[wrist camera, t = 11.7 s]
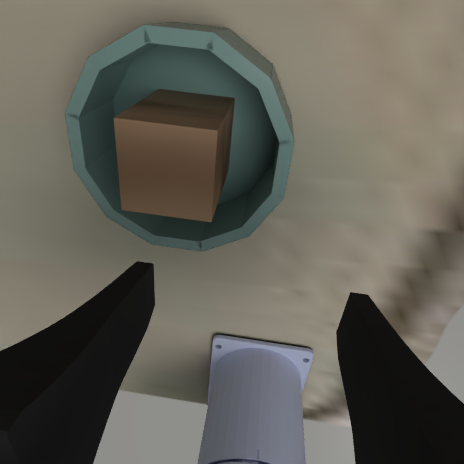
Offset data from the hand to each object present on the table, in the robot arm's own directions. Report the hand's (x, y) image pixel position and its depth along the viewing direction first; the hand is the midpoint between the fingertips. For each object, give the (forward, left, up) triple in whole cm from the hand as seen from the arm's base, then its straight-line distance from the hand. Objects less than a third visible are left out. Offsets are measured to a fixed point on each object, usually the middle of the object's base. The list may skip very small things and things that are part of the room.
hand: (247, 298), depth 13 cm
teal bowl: (+3, +4, -10) cm, 11 cm away
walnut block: (+3, +4, -9) cm, 11 cm away
